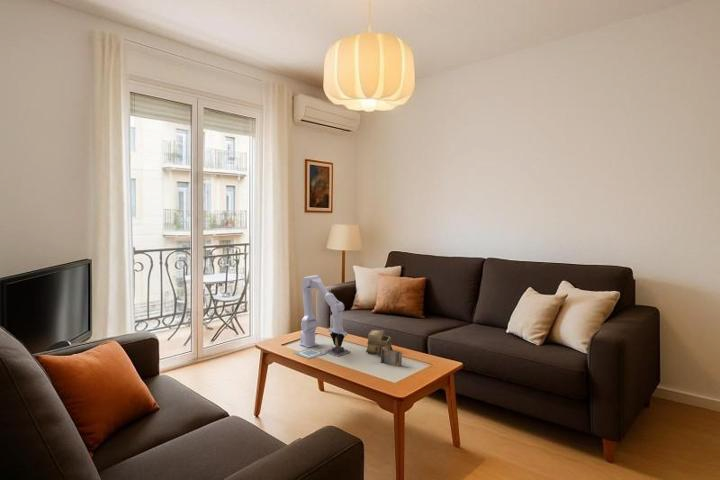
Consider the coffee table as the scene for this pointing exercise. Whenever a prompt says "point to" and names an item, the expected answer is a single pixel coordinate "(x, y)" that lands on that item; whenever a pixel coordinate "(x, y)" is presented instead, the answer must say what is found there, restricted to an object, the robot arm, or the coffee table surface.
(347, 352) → the ink pad
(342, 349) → the wooden stamp
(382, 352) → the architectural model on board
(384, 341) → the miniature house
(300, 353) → the marked board
